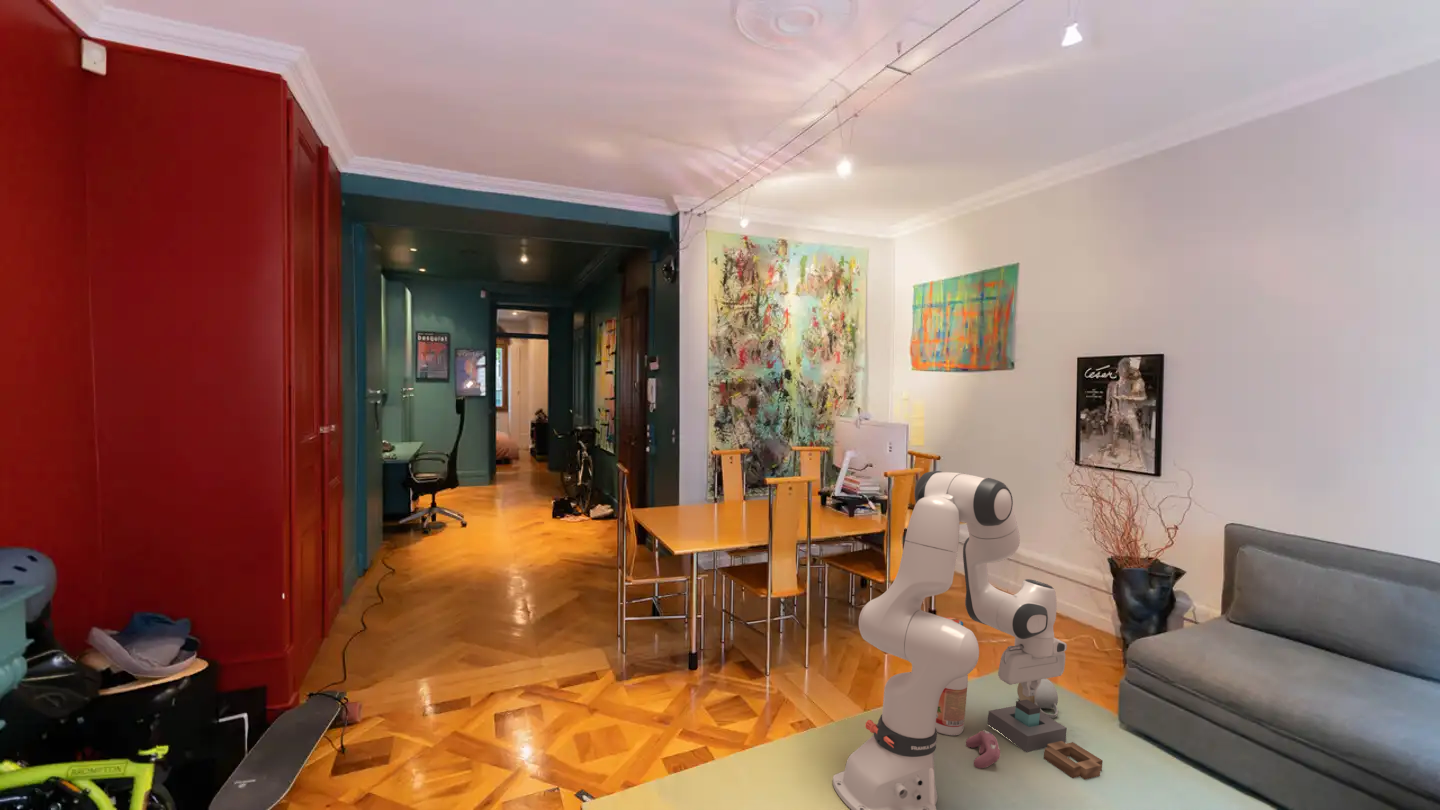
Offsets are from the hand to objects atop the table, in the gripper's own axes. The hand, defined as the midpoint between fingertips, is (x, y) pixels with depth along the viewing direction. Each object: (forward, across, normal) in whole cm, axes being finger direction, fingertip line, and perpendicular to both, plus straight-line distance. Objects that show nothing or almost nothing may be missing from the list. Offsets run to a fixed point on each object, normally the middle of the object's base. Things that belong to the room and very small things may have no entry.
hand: (1029, 695), depth 154 cm
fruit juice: (+10, -19, +9) cm, 24 cm away
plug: (+10, 0, 0) cm, 10 cm away
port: (+10, 0, 0) cm, 10 cm away
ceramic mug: (+11, +16, +8) cm, 21 cm away
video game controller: (+10, -20, -5) cm, 24 cm away
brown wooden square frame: (+10, 0, -13) cm, 17 cm away
